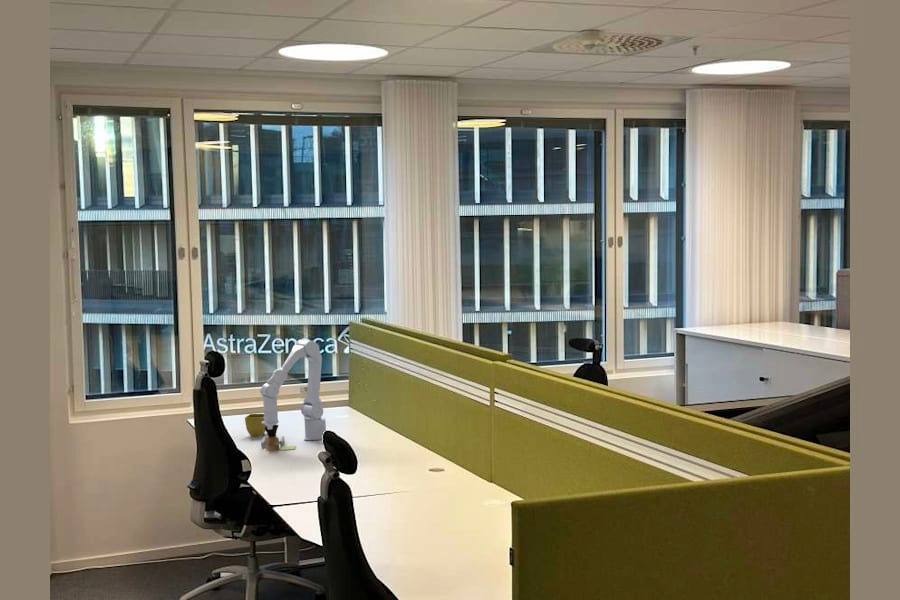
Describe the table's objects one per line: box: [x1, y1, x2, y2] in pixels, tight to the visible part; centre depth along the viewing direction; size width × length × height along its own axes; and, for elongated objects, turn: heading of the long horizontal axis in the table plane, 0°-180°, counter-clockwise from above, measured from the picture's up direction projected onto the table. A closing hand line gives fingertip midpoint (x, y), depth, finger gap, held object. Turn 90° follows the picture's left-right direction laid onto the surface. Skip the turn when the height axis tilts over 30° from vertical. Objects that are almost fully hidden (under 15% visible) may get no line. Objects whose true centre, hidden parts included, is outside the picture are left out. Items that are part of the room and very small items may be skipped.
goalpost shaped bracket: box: [260, 435, 286, 449], centre depth 399 cm, size 9×10×2 cm
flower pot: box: [244, 413, 267, 437], centre depth 420 cm, size 9×9×9 cm
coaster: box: [279, 445, 297, 451], centre depth 392 cm, size 6×6×1 cm
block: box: [265, 436, 280, 452], centre depth 391 cm, size 4×4×5 cm
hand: (272, 442), depth 396 cm, fingers closed
